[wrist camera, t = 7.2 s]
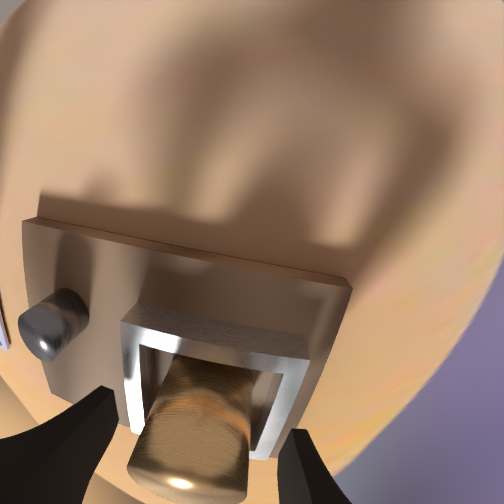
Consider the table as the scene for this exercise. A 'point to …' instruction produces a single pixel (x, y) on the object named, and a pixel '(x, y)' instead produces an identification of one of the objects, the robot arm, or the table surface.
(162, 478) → the cylinder
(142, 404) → the fitting board
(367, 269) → the table surface
